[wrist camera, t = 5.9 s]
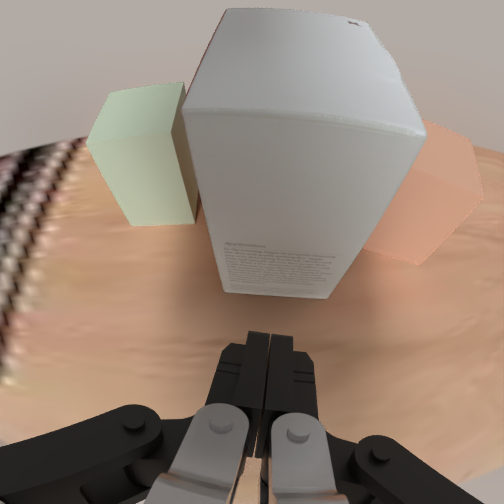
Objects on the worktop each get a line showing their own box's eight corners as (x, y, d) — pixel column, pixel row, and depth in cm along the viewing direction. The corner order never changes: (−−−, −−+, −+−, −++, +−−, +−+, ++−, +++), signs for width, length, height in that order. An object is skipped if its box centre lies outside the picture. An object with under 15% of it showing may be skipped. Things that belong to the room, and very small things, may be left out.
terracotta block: (359, 248, 20) (408, 166, 12) (366, 195, 21) (403, 111, 14) (418, 265, 19) (484, 197, 12) (419, 213, 21) (470, 139, 14)
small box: (234, 185, 22) (224, 5, 10) (324, 192, 21) (371, 20, 10) (220, 295, 18) (173, 108, 6) (328, 302, 18) (438, 136, 6)
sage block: (131, 226, 20) (85, 143, 13) (142, 175, 22) (110, 92, 15) (195, 224, 20) (170, 132, 13) (200, 172, 22) (183, 81, 15)
